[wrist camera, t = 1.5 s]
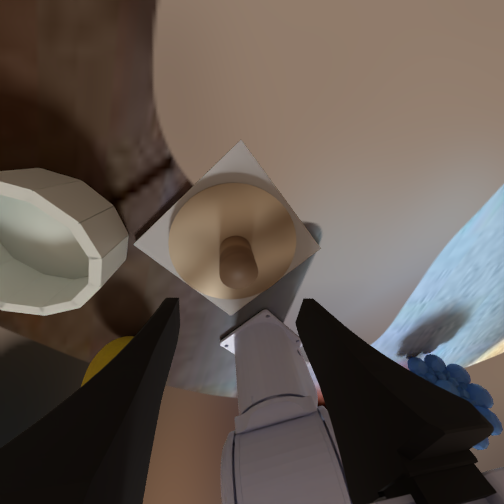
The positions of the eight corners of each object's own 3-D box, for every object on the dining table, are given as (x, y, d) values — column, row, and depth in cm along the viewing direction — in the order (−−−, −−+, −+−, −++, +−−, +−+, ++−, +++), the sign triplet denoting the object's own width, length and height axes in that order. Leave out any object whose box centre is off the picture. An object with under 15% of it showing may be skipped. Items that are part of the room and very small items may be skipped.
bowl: (151, 235, 18) (131, 258, 14) (87, 296, 20) (53, 332, 16) (28, 138, 14) (-51, 132, 10) (-38, 229, 15) (-127, 256, 12)
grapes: (378, 379, 37) (441, 470, 26) (383, 357, 34) (457, 452, 23) (435, 363, 37) (520, 447, 27) (445, 341, 34) (546, 426, 23)
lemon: (106, 319, 22) (51, 400, 14) (160, 321, 23) (133, 397, 16) (111, 352, 24) (66, 435, 17) (159, 352, 25) (136, 430, 18)
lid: (314, 248, 20) (339, 273, 16) (231, 311, 23) (233, 347, 19) (240, 149, 15) (248, 148, 11) (141, 244, 18) (117, 273, 13)
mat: (318, 246, 21) (321, 248, 21) (230, 312, 24) (230, 315, 23) (240, 139, 15) (241, 139, 15) (135, 241, 18) (133, 244, 17)
